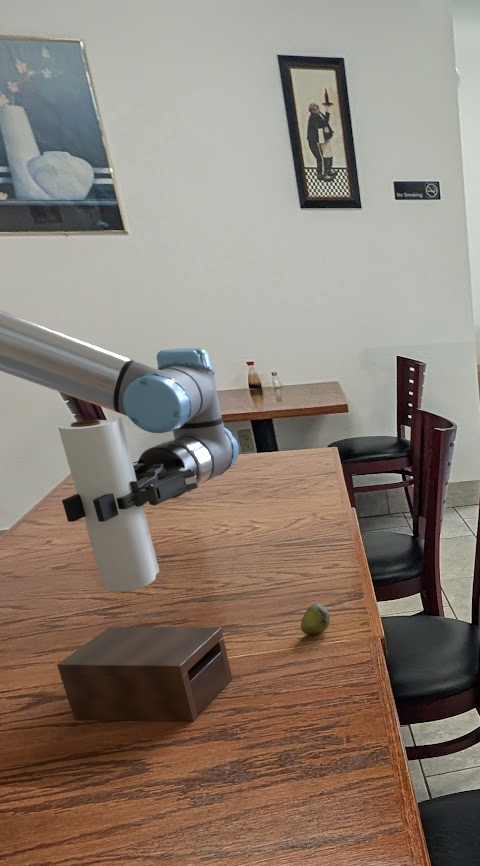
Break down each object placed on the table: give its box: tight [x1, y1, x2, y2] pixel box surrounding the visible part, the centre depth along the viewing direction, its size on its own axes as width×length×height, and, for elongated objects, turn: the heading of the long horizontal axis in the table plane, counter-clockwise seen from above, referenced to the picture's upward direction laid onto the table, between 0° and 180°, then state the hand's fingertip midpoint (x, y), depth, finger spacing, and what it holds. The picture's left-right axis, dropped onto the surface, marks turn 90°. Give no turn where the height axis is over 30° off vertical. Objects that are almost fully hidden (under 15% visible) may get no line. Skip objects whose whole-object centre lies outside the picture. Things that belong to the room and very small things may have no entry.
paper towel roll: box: [57, 417, 161, 593], centre depth 106 cm, size 7×6×21 cm
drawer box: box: [56, 626, 233, 722], centre depth 110 cm, size 16×12×8 cm
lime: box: [300, 603, 331, 636], centre depth 129 cm, size 4×5×5 cm
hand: (83, 510), depth 101 cm, fingers closed on paper towel roll, 3 cm apart
